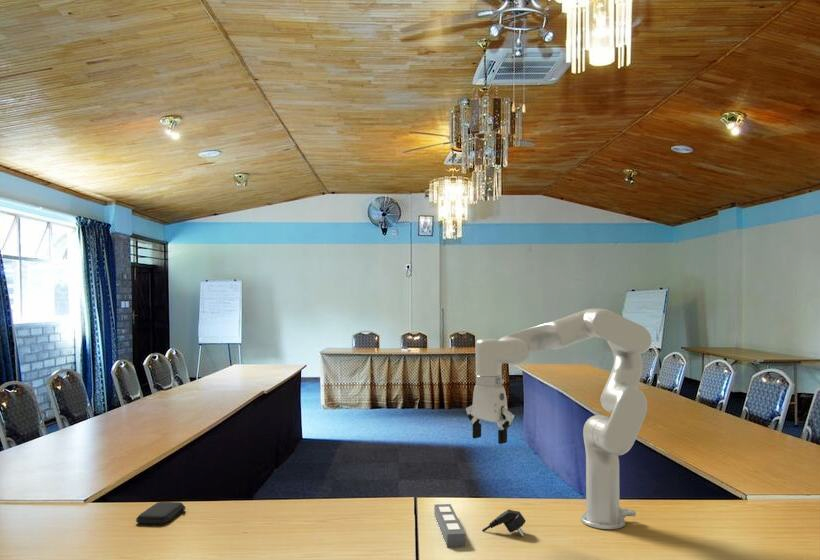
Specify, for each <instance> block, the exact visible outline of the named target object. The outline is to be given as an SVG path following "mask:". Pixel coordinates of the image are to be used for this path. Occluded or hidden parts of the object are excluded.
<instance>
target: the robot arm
mask: <svg viewBox="0 0 820 560" xmlns="http://www.w3.org/2000/svg"><path fill="white" fill-rule="evenodd" d="M592 338H599V339H603V340H606V342H607V344H608V346H609V347H610V350H611V352H612V355H613V365H612V368H611V371H610V373H609V377H608V379H607V380H606V383H605V386H604V388H603V390H602V393H601V395H600V405H601V407H602V408H603V410H605V412H608V413H609V414H611V415H610V416H606V415H603V414H595V415H592V416H590V417H589V418H587V420H586V421H585V423H584V425H583V429H582V432H583V433H582V436H583V443H584V448H585V449H584V450H585V490H586V492H585V493H586V494H585V499H586V500H585V501H586V502H585V505H586V507H585V509H586V512H583V513H582V514H581V515H580V521H581V522H582V523H583V524H585V525H586V526H588V527H592V528H595V529H600V530H618V529H622V528H623V527H625V526H626V520H625V518H626V517H629V518H630V517H636V513H637V512H636V510H635V509H628V508H627V507H621V506H620V458H619V456H622V455H625V454H626V453H628V452H629V451H630V450H631V449H632V447H633V446H634V444H635V442H636V439H637V437H638V435H639V432H640V430H641V428H642V425H643V422H644V420H645V417H646V415H647V413H648V412H647V411H648V400H647V399H648V398H647V397H646V395H645V394H644V392H643V391H642V390H640V389H639V388H638V386H639V383H640V380H641V378H642V373H643V370H644V365H643V359H642V358H643V357H642V354H644V353H646V352H647V351H648V350H650V347H651V346H652V341H653V339H652V335H651V333H650V331H649V330H648V329H647V328H646V327H644V326H643V325H642V324H639V323H637V322H635V321H632V320H630V319H628V318H627V317H624V316H622V315H620V314H618V313H616V312H614V311H611V310H609V309H606V308H586V309H584V310H581V311H578V312H574V313H572V314H570V315H566V316H564V317H562V318H561V317H560V318H557V319H556V320H552V321H548V322H545V323H542V324H539V325H536V326H532V327H531V326H530V327H529V328H524V329H520V330H519V331H516V332H512V333H510V334H507V335H504V336H502V337H500V338H499V339H496V338H479V339H478V340H476V342H475V346H474V347H475V385H474V387H473V394H472V405H469V406H468V407H465V411H466V414H467V418H468V420H469V421H470V424H471V425H472V438H473V439H479V438H481V437H482V423H480V422H481V421H485V422H491V423H496V424H497V426H498V430H497V434H498V435H497V439H498V440H497V441H498V444H499V445H502V444H505V443H508V429H509V428H510V427H511V425H513V421H514V418H515V414H513V413H512V412H511V411H509V409H508V399H507V394H506V389H505V386H503V384H504V383H505V379H504V378H503V376H502V370H503V369H502V365H503V364H509V365H520V364H524V363H525V362H527V360H528V359H529V358H530V355H531V353H535V352H539V351H553V350H555V351H556V350H560V349H561V350H562V349H564V348H567V347H571V346H573V345H575V344H578V343H581V342H583V341H587V340H589V339H592Z"/></svg>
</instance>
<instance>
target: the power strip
mask: <svg viewBox="0 0 820 560" xmlns="http://www.w3.org/2000/svg"><path fill="white" fill-rule="evenodd" d="M433 505H434V506H433V508H434V509H433V510H434V515H435V516H434V518H435V517H436V519H435V521H436V520H437V521H436V523H437V522H438V524H437V526H438V525H439V526H438V528H439V527H440V529H439V531H440V530H441V531H440V533H441V532H442V533H441V536H442V535H443V536H442V539H443V541H444V540H445V541H444V543H445V542H446V543H445V545H447V546H446V548H463V547H464V548H465V547H466V541H467V540H466V532H465V530H464V527H463V526H462V524H461V522H460V520H459V518H458V515H457V514H456V512H455V509H454V508H453V506H452V505H451V503H443V504H442V503H441V504H439V503H438V504H433Z"/></svg>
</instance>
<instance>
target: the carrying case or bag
mask: <svg viewBox="0 0 820 560" xmlns="http://www.w3.org/2000/svg"><path fill="white" fill-rule="evenodd" d="M185 511H186V506H185V505H184V503H182V502H179V501H175V502H174V501H158V502H156V503H155V504H152V506H150V507H148V508H147V509H145V510H144V511H142V512H141V513H140V514H139V515H138V516H137V517H136V519H135V522H136V523H138V525H142V526H164V525H166V524H168V523H169V522H170V521H171V520H173V519H174V518H175V517H176V516H178V515H179V514H181V513H185Z"/></svg>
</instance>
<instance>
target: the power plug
mask: <svg viewBox="0 0 820 560" xmlns="http://www.w3.org/2000/svg"><path fill="white" fill-rule="evenodd" d="M525 523H526V519H525V518H524V516H523V515H522V513H521V511H520V510H519V511H518V510H512V509H507V510H505V511H503V512H502V513H500V514H499V515H498V516H497V517H495V518H494V519H493V520H492V521H491V522H489V524H488V526H486V527H484V528H483V529H482V532H486V531H487V530H489V529H493V528H495V527H497V526H499V525H502V524H503V525H504V526H505V528H506V530H507V531H508V532H509V533H514V532H515V531H517V532H518V534H519V535H520V536H521V537H524V533H525V531H524V530H523V528H522V527H523V525H525Z"/></svg>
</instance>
